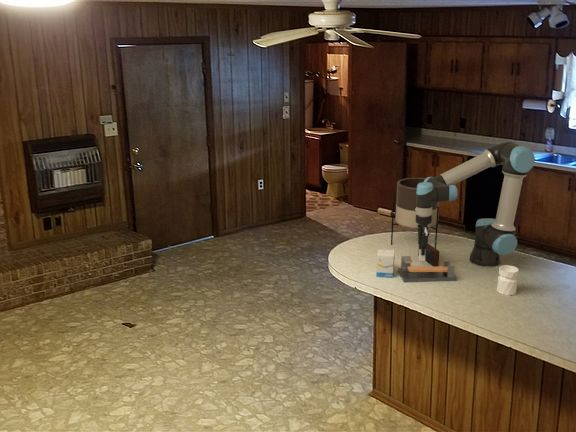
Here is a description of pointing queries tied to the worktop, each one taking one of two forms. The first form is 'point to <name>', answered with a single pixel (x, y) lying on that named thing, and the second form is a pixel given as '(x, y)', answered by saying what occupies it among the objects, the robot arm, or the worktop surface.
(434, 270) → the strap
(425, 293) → the worktop surface
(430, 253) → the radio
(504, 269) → the vase
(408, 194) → the planter
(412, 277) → the base
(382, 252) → the ink box
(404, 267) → the keeper
